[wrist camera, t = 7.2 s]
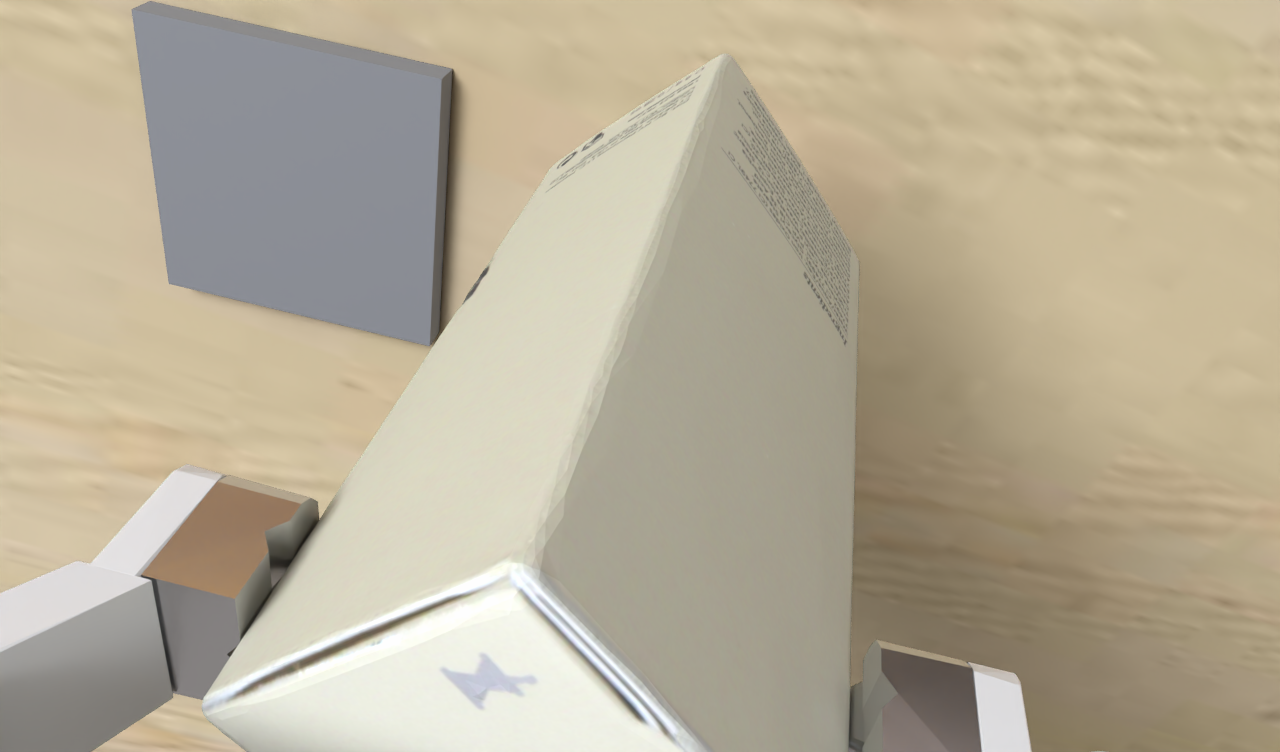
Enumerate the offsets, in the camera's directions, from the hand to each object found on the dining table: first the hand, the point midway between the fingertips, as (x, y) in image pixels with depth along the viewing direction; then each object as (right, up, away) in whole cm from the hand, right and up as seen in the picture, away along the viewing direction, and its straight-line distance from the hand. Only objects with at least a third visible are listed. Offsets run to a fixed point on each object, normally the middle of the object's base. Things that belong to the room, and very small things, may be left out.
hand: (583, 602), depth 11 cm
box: (+2, +6, +8) cm, 10 cm away
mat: (-11, +9, +23) cm, 27 cm away
